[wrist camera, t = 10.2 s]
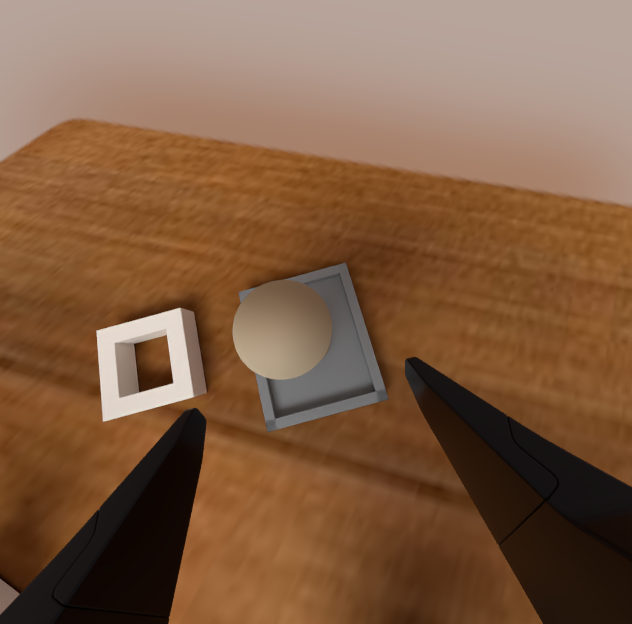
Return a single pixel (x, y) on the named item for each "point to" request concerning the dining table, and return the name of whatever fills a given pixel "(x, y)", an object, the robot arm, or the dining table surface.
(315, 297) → the dowel
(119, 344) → the socket
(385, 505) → the dining table surface
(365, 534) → the dining table surface
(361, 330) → the tray
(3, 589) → the milk carton
